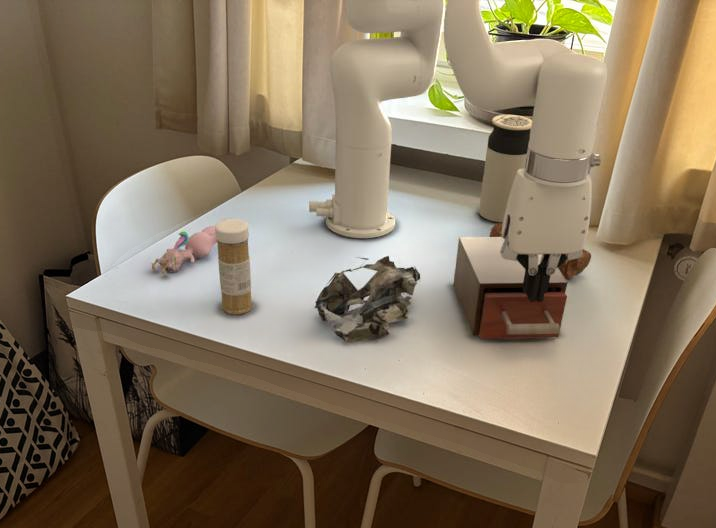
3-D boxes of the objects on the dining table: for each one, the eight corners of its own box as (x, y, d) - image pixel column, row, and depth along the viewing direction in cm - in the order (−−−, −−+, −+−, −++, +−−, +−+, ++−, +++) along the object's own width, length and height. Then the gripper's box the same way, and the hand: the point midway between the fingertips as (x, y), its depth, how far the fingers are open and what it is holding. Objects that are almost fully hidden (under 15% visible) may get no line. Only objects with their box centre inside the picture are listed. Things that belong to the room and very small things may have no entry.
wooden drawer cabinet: (556, 334, 112) (567, 282, 107) (472, 335, 110) (479, 283, 105) (529, 285, 123) (538, 236, 119) (453, 286, 122) (458, 236, 117)
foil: (307, 279, 114) (394, 231, 111) (345, 333, 119) (429, 288, 116) (303, 317, 104) (399, 265, 101) (345, 373, 110) (437, 326, 106)
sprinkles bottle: (244, 297, 116) (239, 214, 108) (258, 311, 113) (254, 227, 105) (216, 305, 113) (208, 221, 106) (229, 319, 110) (223, 234, 103)
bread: (567, 287, 123) (574, 256, 120) (481, 244, 135) (485, 214, 132) (591, 276, 127) (598, 246, 124) (505, 235, 138) (510, 206, 135)
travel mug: (528, 215, 146) (544, 122, 136) (504, 227, 141) (519, 131, 131) (494, 203, 150) (507, 111, 140) (470, 214, 145) (482, 119, 135)
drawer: (569, 356, 105) (578, 314, 101) (488, 358, 104) (495, 316, 100) (532, 290, 120) (539, 251, 116) (461, 291, 119) (466, 252, 115)
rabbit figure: (174, 288, 119) (242, 243, 128) (165, 256, 115) (235, 212, 124) (148, 275, 122) (216, 232, 131) (138, 244, 118) (209, 201, 127)
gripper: (605, 154, 96) (577, 282, 106) (489, 153, 94) (473, 284, 105) (627, 175, 90) (596, 310, 100) (504, 175, 88) (485, 312, 98)
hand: (533, 296), depth 102 cm, fingers closed
